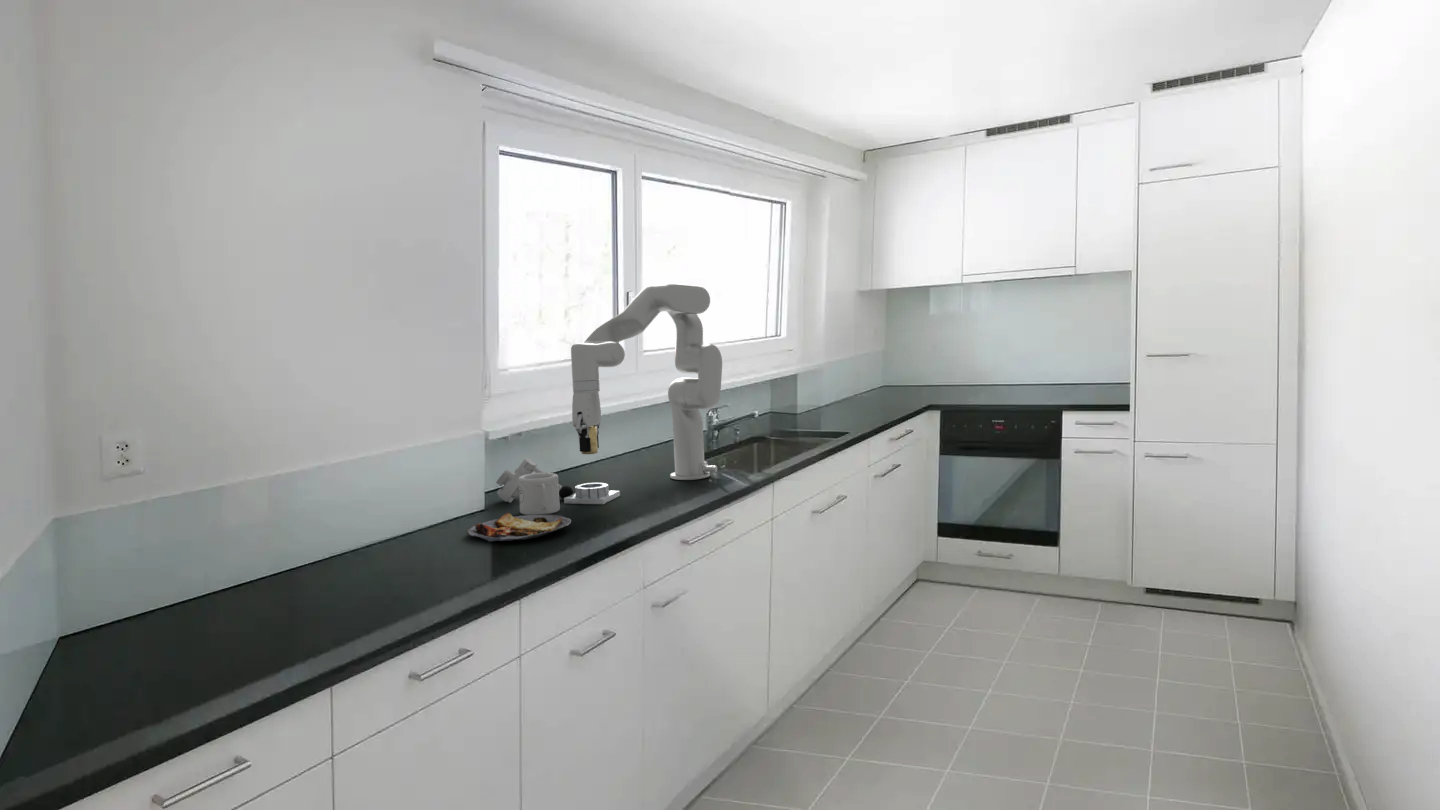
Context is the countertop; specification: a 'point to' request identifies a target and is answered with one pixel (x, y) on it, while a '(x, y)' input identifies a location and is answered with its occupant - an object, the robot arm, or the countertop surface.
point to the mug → (538, 493)
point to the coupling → (592, 440)
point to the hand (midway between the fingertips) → (589, 449)
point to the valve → (513, 487)
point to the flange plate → (592, 500)
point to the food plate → (518, 527)
